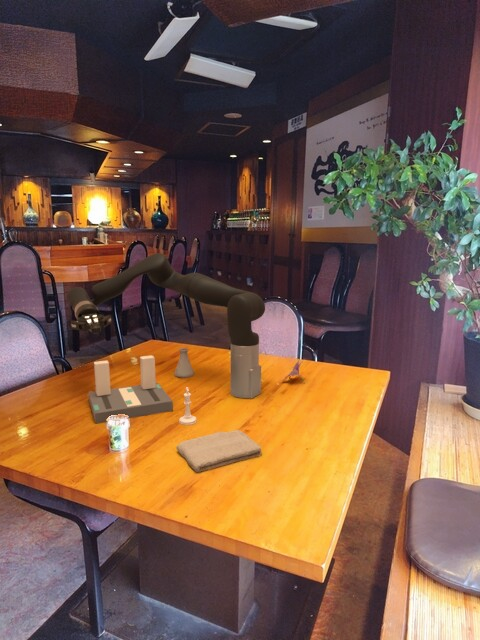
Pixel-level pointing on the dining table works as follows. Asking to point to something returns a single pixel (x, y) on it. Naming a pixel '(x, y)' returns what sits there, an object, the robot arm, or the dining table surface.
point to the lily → (295, 371)
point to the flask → (184, 365)
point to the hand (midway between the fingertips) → (96, 330)
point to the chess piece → (187, 411)
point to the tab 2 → (147, 372)
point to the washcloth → (218, 450)
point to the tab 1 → (102, 378)
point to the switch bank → (130, 402)
